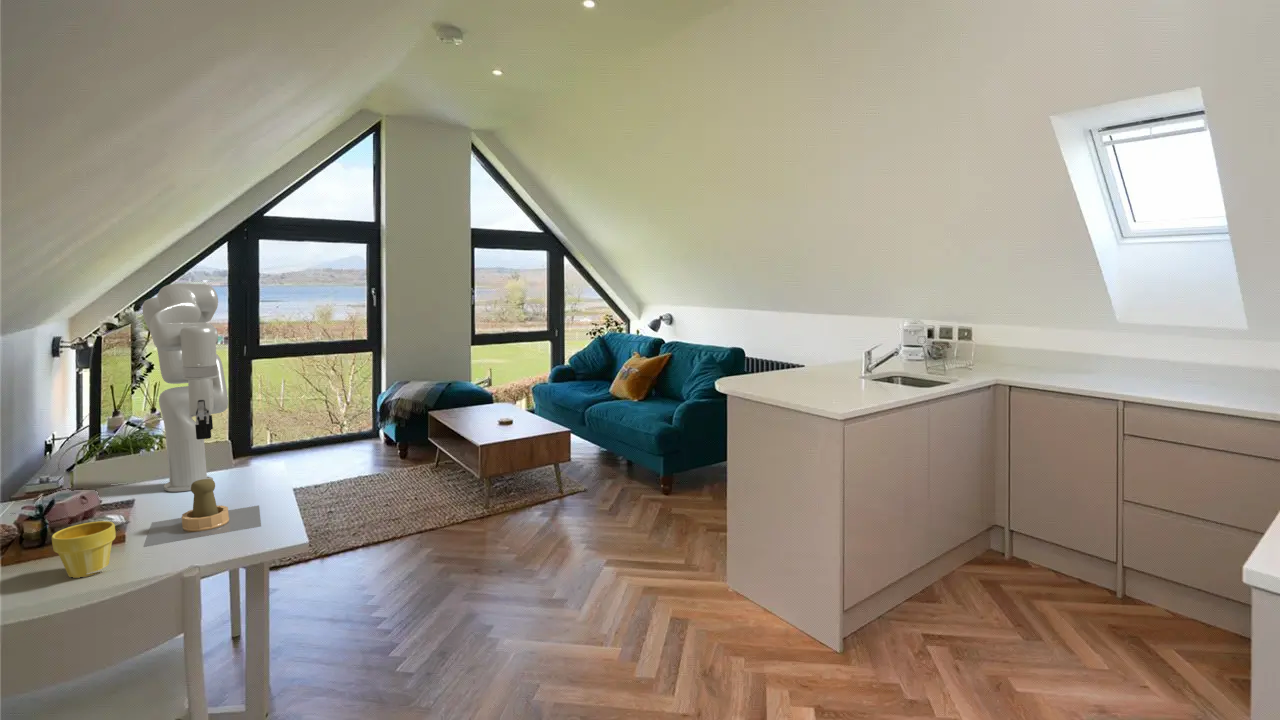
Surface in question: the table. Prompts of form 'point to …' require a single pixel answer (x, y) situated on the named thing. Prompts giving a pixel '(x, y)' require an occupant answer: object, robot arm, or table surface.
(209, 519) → the tan shallow bowl
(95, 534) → the plant pot
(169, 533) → the slate board
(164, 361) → the robot arm
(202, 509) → the cork
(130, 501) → the table surface
